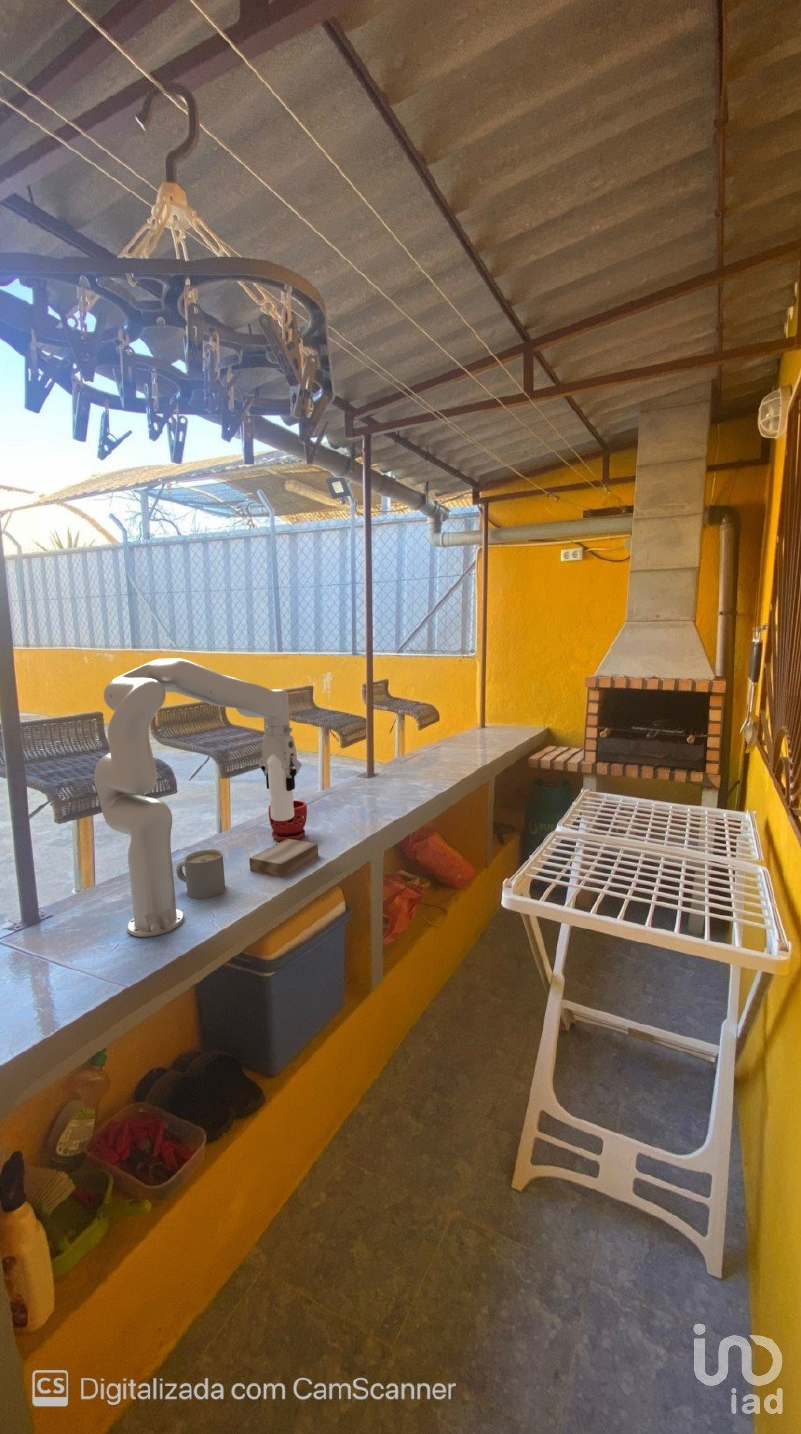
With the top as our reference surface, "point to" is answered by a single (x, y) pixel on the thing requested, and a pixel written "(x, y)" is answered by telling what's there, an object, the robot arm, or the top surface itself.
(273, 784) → the water bottle
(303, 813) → the plant pot
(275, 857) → the walnut stand
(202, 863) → the coffee mug
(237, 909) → the top surface
